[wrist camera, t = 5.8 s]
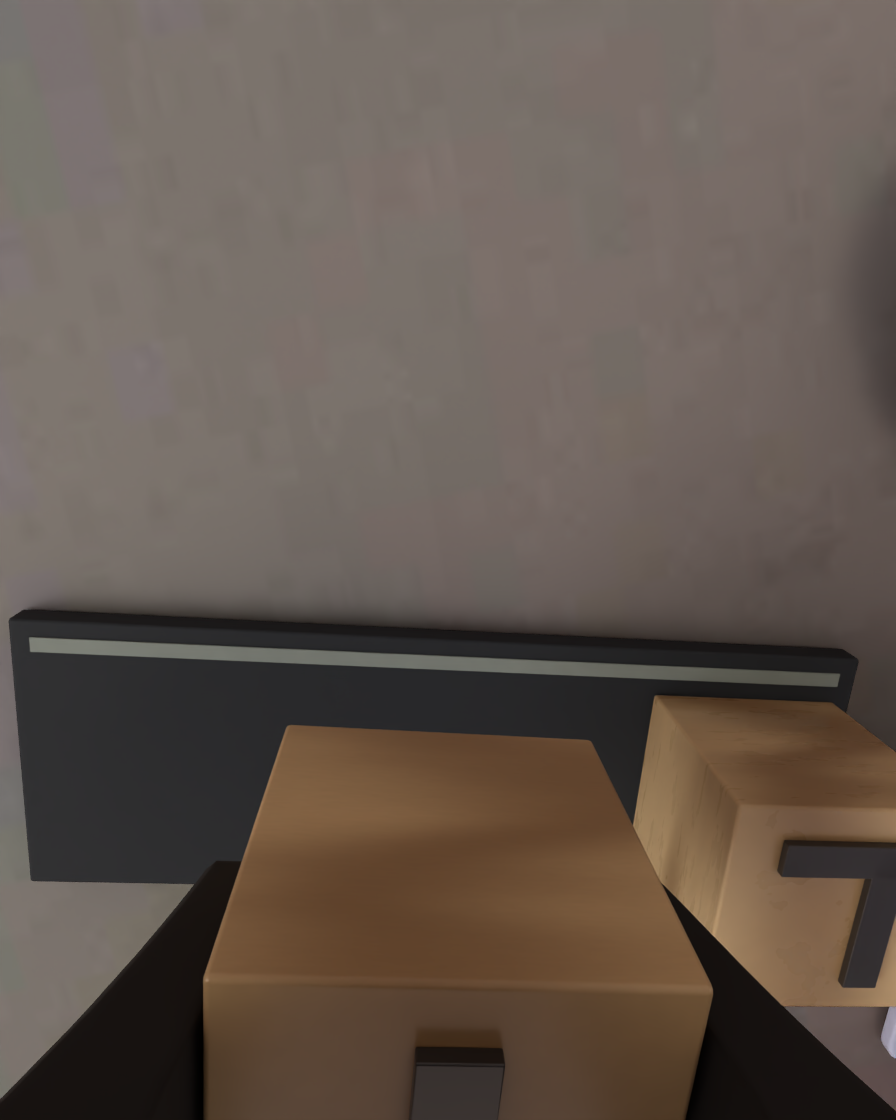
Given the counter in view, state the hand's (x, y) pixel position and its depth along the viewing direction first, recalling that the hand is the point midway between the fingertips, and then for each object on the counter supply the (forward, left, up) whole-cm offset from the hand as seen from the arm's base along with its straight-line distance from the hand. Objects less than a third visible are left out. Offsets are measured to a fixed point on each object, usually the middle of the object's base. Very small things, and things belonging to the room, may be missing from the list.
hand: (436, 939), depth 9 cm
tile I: (0, 0, -1) cm, 1 cm away
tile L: (-7, +2, -7) cm, 10 cm away
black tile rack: (-1, +2, -7) cm, 7 cm away
